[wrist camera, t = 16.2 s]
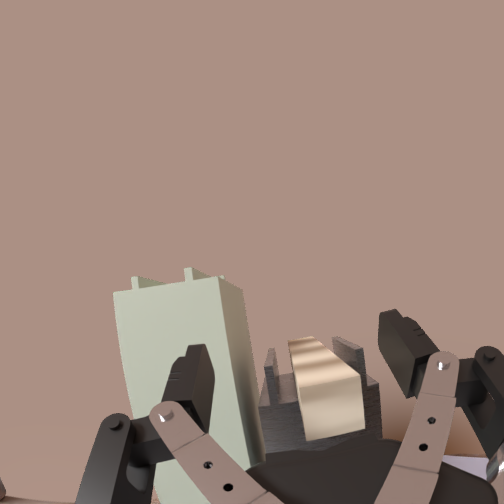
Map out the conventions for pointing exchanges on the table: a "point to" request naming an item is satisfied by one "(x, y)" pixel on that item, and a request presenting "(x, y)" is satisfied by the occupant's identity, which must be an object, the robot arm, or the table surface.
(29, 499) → the table surface
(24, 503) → the table surface
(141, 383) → the pale green tall block
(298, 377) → the rail
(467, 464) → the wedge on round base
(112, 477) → the robot arm
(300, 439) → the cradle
